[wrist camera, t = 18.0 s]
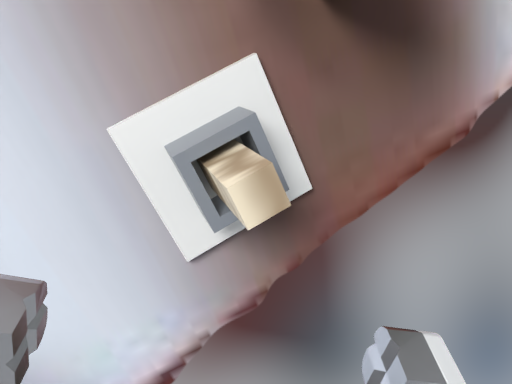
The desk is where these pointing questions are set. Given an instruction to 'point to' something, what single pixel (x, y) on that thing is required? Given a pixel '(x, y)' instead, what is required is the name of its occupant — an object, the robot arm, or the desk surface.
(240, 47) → the desk surface
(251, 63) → the socket
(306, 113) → the desk surface
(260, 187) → the peg
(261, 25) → the desk surface
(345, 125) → the desk surface
